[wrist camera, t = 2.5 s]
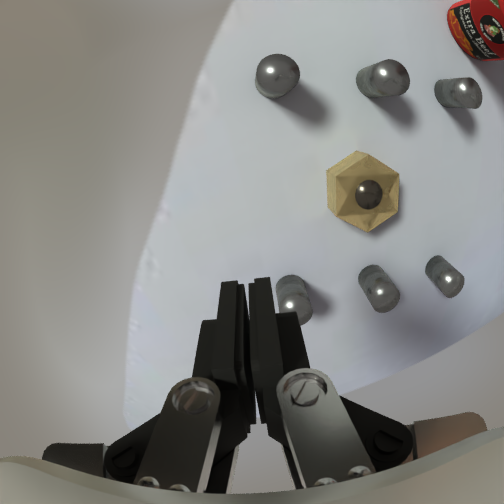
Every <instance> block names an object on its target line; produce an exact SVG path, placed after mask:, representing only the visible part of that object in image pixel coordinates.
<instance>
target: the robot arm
mask: <svg viewBox="0 0 504 504" xmlns="http://www.w3.org/2000/svg"><path fill="white" fill-rule="evenodd" d="M254 282H255V283H249V314H248V308H247V301H246V294H245V287H244V284H238V281H227V282H222V283H221V289H220V297H219V305H218V313H217V319H214V320H203V321H202V324H201V329H200V334H199V340H198V345H197V351H196V357H195V363H194V368H193V374H192V377H191V378H188V379H184V380H182V381H180V382H178V383H177V384H176V385H175V386H173V387H172V388H171V390H170V392H169V393H168V395H167V398H166V400H165V403H164V405H163V408H162V410H161V413H159V414H158V415H156V416H155V417H153V418H152V419H150V420H149V421H147V422H146V423H144V424H142V425H141V426H139V427H138V428H136V429H135V430H133V431H131V432H130V433H128V434H127V435H125V436H123V437H122V438H120V439H119V440H117V441H115V442H114V443H113V444H111V445H110V446H105V445H104V443H100V444H99V443H97V444H77V443H74V444H72V443H54V444H51V445H49V446H48V447H47V448H46V449H45V450H44V453H43V456H42V460H41V459H37V458H33V457H26V456H12V457H11V456H10V457H3V458H0V504H504V427H500V428H495V429H491V430H488V431H487V427H486V423H485V421H484V419H483V418H482V417H481V416H480V415H478V414H476V413H474V412H465V413H461V414H456V415H452V416H446V417H441V418H434V419H428V420H421V421H414V422H413V424H410V425H403V424H402V423H400V422H398V421H395V420H393V419H390V418H388V417H386V416H383V415H381V414H379V413H377V412H374V411H372V410H370V409H367V408H365V407H363V406H361V405H359V404H356V403H354V402H352V401H350V400H348V399H346V398H344V397H342V396H340V395H338V393H337V391H336V389H335V387H334V385H333V383H332V381H331V380H330V378H329V377H328V376H327V375H326V374H324V373H323V372H321V371H319V370H316V369H310V365H309V360H308V356H307V352H306V348H305V344H304V340H303V335H302V331H301V327H300V323H299V319H298V315H297V312H296V311H293V312H285V313H276V314H275V308H274V301H273V294H272V288H271V281H270V277H265V278H256V279H254ZM249 320H250V321H249ZM255 392H256V398H257V403H258V408H259V414H260V419H261V424H264V423H267V429H268V435H269V436H270V437H272V438H273V439H275V440H276V441H278V442H280V443H281V447H282V450H283V454H284V457H285V461H286V464H287V467H288V471H289V474H290V477H291V481H292V484H293V487H294V490H290V491H281V492H269V493H253V494H231V489H232V483H233V478H234V473H235V468H236V463H237V457H238V451H239V444H240V443H241V442H242V441H244V440H245V439H246V438H247V433H250V425H251V424H256V402H255Z"/></svg>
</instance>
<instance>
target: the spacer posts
mask: <svg viewBox="0 0 504 504" xmlns="http://www.w3.org/2000/svg"><path fill="white" fill-rule="evenodd" d="M299 78H300V71H299V67H298V65H297V64H296V62H295V61H294V60H293V59H291V58H290V57H288V56H286V55H282V54H272V55H269V56H267V57H265V58H264V59H262V60H261V62H260V63H259V65H258V67H257V72H256V78H255V85H256V88H257V90H258V91H259V92H260V93H261V94H262V95H263V96H265V97H268V98H279V97H282V96H283V95H285V94H286V93H287V92H289V91H290V90H291V89H292V88H294V87H295V86H296V84H297V83H298V81H299ZM356 83H357V86H358V88H359V90H360V91H361V92H362V93H363V94H364V95H365V96H367V97H370V98H378V97H386V96H394V95H401V94H404V93H405V92H406V91H407V90H408V88H409V85H410V78H409V74H408V72H407V70H406V69H405V67H404V66H403V65H402V64H400V63H399V62H397V61H395V60H391V59H388V60H384V61H381V62H379V63H376V64H373V65H371V66H368V67H366V68H363V69H361V70H360V71H359V72H358V74H357V77H356ZM434 91H435V96H436V98H437V100H438V102H439V103H440V104H441V105H443V106H445V107H458V108H473V109H477V108H479V107H480V105H481V103H482V92H481V89H480V87H479V85H478V83H477V82H476V81H475V80H474V79H472V78H454V79H443V80H439V81H437V82H436V84H435V88H434ZM425 273H426V275H427V276H428V277H429V278H430V279H431V281H432V282H433V283H434V284H435V285H436V286H437V287H438V288H439V289H440V290H441V291H442V292H443V294H444V295H445V296H446V297H448V298H452V297H454V296H456V295H457V294H458V293H459V292H460V291H461V289H462V288H463V285H464V276H463V275H462V274H461V273H460V272H458V271H457V270H456V269H455V268H454V267H453V266H452V265H451V264H450V263H448V262H447V261H446V260H445V259H444V258H443V257H442V256H434V257H433V258H431V259H430V260H429V262H428V263H427V265H426V269H425ZM358 282H359V285H360V286H361V288H362V289H363V291H364V293H365V294H366V296H367V298H368V299H369V301H370V303H371V305H372V306H373V308H374V310H375V311H377V312H379V313H385V312H388V311H390V310H392V309H393V308H394V307H395V306H396V305H397V303H398V302H399V299H400V293H399V291H398V289H397V288H396V287H395V285H394V284H393V283H392V282H391V280H390V279H389V278H388V276H387V275H386V274H385V273H384V271H383V270H382V269H381V268H380V267H379V266H377V265H370V266H367V267H365V268H364V269H363V270H362V271H361V273H360V274H359V277H358ZM276 293H277V300H278V306H279V312H280V313H285V312H293V311H296V312H297V315H298V319H299V323H300V326H301V325H303V324H305V323H306V322H308V321H309V320H310V318H311V317H312V313H313V310H312V307H311V303H310V300H309V297H308V294H307V291H306V288H305V285H304V282H303V280H302V279H301V278H300V277H298V276H296V275H287V276H284V277H282V278H281V279H280V280H279V281H278V282H277V284H276Z"/></svg>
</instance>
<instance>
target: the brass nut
mask: <svg viewBox="0 0 504 504" xmlns="http://www.w3.org/2000/svg"><path fill="white" fill-rule="evenodd" d="M326 175H327V202H328V208H329V209H330V210H331V211H332V212H333V213H334V215H335V216H336V217H338V218H340V219H342V220H344V221H346V222H348V223H350V224H352V225H354V226H356V227H358V228H360V229H362V230H364V231H366V232H369V231H371V230H372V229H374V228H375V227H377V226H378V225H380V224H381V223H382V222H384V221H385V220H387V219H388V218H390V217H391V216H392V215H394V214H395V213H397V212H398V197H399V174H398V173H397V172H395V171H394V170H392V169H391V168H389V167H388V166H386V165H385V164H383V163H382V162H380V161H378V160H377V159H375V158H374V157H372V156H370V155H369V154H366V153H363V152H359V151H355V152H353V153H352V154H350V155H349V156H347V157H346V158H344V159H343V160H341V161H340V162H338V163H337V164H335V165H334V166H332V167H331V168H329V169H328V170H326Z"/></svg>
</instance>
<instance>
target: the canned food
mask: <svg viewBox="0 0 504 504" xmlns="http://www.w3.org/2000/svg"><path fill="white" fill-rule="evenodd" d="M447 21H448V25H449V28H450V31H451V33H452V35H453V37H454V38H455V40H456V42H457V43H458V44H459V46H460V47H461V48H462V49H463V50H464V51H465V52H466V53H467V54H468V55H470V56H471V57H473V58H475V59H479V60H482V61H491V60H504V0H462V1H460V2H457V3H455V4H453V5H452V6H451V7H450V9H449V10H448V14H447Z"/></svg>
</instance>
